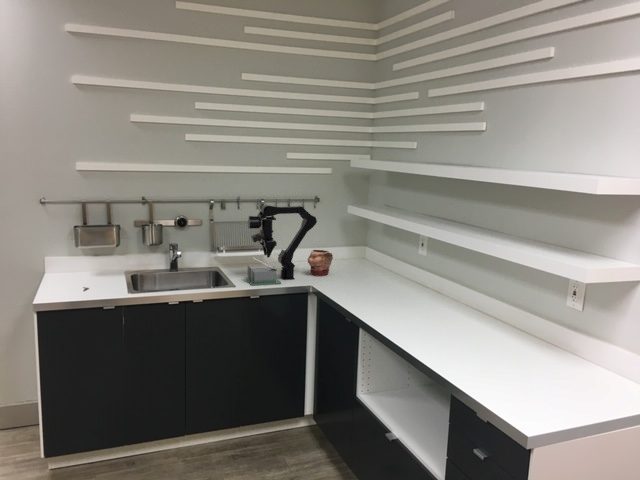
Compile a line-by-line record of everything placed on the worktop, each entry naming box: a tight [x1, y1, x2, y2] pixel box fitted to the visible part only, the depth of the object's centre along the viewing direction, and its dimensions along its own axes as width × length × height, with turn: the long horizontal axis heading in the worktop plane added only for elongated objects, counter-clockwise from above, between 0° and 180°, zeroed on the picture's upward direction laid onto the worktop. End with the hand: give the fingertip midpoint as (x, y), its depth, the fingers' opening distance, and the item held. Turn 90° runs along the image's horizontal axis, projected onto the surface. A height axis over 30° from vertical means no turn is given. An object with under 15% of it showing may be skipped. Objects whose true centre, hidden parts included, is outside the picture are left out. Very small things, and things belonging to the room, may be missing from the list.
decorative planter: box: [307, 249, 334, 277], centre depth 302 cm, size 20×12×14 cm, turn 144°
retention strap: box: [252, 256, 276, 269], centre depth 280 cm, size 13×4×1 cm, turn 110°
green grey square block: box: [245, 265, 282, 287], centre depth 281 cm, size 16×16×8 cm
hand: (266, 256), depth 284 cm, fingers open, 6 cm apart
